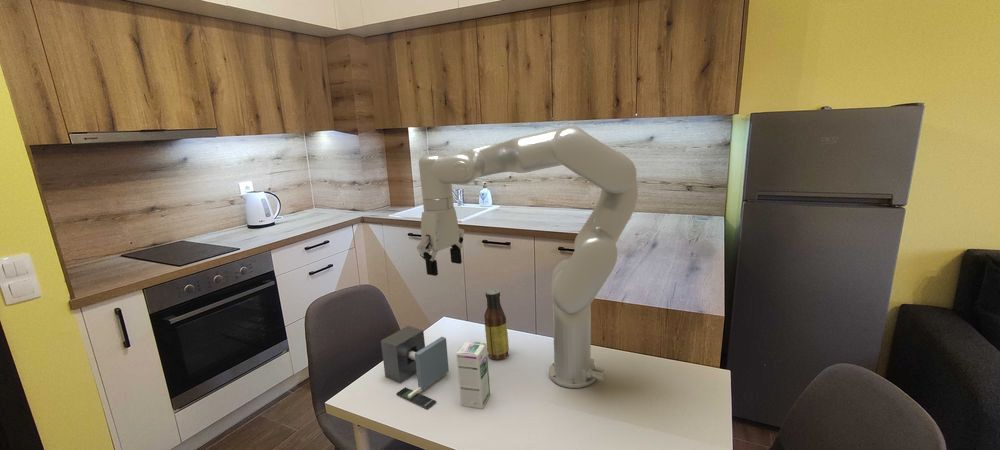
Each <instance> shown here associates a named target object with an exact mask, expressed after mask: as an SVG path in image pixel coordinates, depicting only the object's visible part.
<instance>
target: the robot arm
mask: <svg viewBox="0 0 1000 450" xmlns="http://www.w3.org/2000/svg"><path fill="white" fill-rule="evenodd" d="M559 166H564V167H565V168H566V169H568V170H570V171H571V172H572V173H574V174H576V175H578V176H579V177H581V178H582V179H585V180H586V181H587V182H590V183H591V184H593V185H594V186H596V187H598V188H600V189H601V191H600V192H601V193H600V195H599V198H598V201H597V202H596V204H595V206H594V208H593V210H592V212H590V214H589V217H588V218H587V219H586V222H585V223H584V224H583V226H582V228H581V229H580V230H579V232H578V234H577V235H576V236H575V239H574V245H573V246H574V247H573V248H574V251H573V252H572V255H571V257H570V258H565V259H564V260H561V261H560V262H559V263H558V264H557V265H556V266H555V268H554V269H553V272H552V274H551V275H552V277H551V298H552V318H553V319H552V327H553V361H554V362H553V363H551V364H550V366H548V367H549V368H548V376H549V379H550V380H551V381H552V382H553V383H555V384H556V385H559V386H560V387H565V388H568V389H569V388H570V389H579V388H585V387H587V386H590V385H591V384H593V383H594V382H595V381H596V380H597V381H601V382H605V379H606V374H605V369H604V368H603V367H599V366H596V365H595V359H594V358H591V357H592V356H591V354H592V353H591V350H592V345H591V344H592V343H591V341H592V340H591V339H592V338H591V337H592V336H591V333H592V332H591V331H592V330H591V328H592V327H591V325H592V324H591V321H592V320H591V319H592V316H591V315H592V311H591V310H592V309H591V305H592V303H593V301H594V300H595V298H596V297H597V296H598V294H599V292H600V291H601V289H602V287H603V286H604V285H605V283H606V281H607V280H608V279H609V276H610V275H611V274H612V272H613V271H614V269H615V266H616V264H617V261H618V255H619V254H618V248H617V242H618V240H619V238H620V237H621V235H622V233H623V231H624V230H625V228H626V226H627V224H628V223H629V221H630V219H631V217H632V215H633V213H634V211H635V208H636V206H637V201H638V195H639V194H638V193H639V192H638V191H639V188H638V181H637V168H636V165H635V163H634V162H633V161H632V160H631V158H629V157H628V156H626V155H625V154H624V153H622V152H619V151H617V150H615V149H613V148H611V147H610V146H608V145H607V144H606V143H603V142H601V141H600V140H598V139H597V138H595V137H593V136H592V135H591V134H589V133H588V132H586V130H584V129H582V128H581V127H578V126H575V125H571V126H570V125H569V126H563V127H560V128H555V129H551V130H546V131H542V132H541V131H540V132H538V133H534V134H533V133H532V134H527V135H524V136H518V137H514V138H512V139H508V140H505V141H502V142H500V143H494V144H490V145H489V144H488V145H486V146H481V147H477V148H472V149H467V150H462V151H461V152H457V153H456V154H450V155H447V154H445V153H434V154H425V155H422V156H421V157H419V159H418V168H419V177H420V178H419V179H420V186H421V187H420V188H421V196H422V206H423V211H422V212H421V219H420V221H421V222H420V233H421V235H420V236H421V241H420V243H419V244H417V246H416V250H417V252H418V253H419V255H420V257H421V258H422V259H423V260H424V261H425V267H426V275H429V276H433V277H436V276H438V274H439V273H438V272H439V271H438V262H437V260H436V256H437V253H438V252H441V251H443V250H445V249H447V248H449V247H451V248H449V253H450V261H451V263H452V264H458V265H460V264H462V263H463V260H462V250H461V249H462V248H463V246H462V245H463V241H464V234H465V229H463V228H460V227H459V221H458V216H457V212H456V209H455V206H454V196H453V195H454V194H453V185H458V186H459V185H462V186H463V185H469V184H471V183H472V182H474V181H475V180H476V179H478V178H482V177H486V176H491V175H497V174H502V173H518V174H526V173H531V172H536V171H539V170H540V171H541V170H546V169H549V168H554V167H555V168H556V167H559ZM430 253H431V254H430Z"/></svg>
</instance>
